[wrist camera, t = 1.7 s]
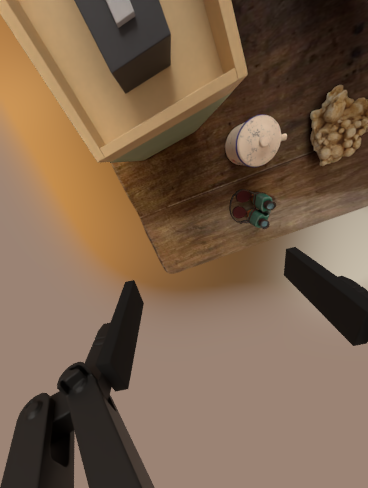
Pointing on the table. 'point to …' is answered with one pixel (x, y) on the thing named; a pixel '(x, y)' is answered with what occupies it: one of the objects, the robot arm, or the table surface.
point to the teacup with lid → (254, 141)
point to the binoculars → (254, 215)
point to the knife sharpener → (129, 37)
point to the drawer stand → (145, 95)
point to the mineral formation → (338, 126)
